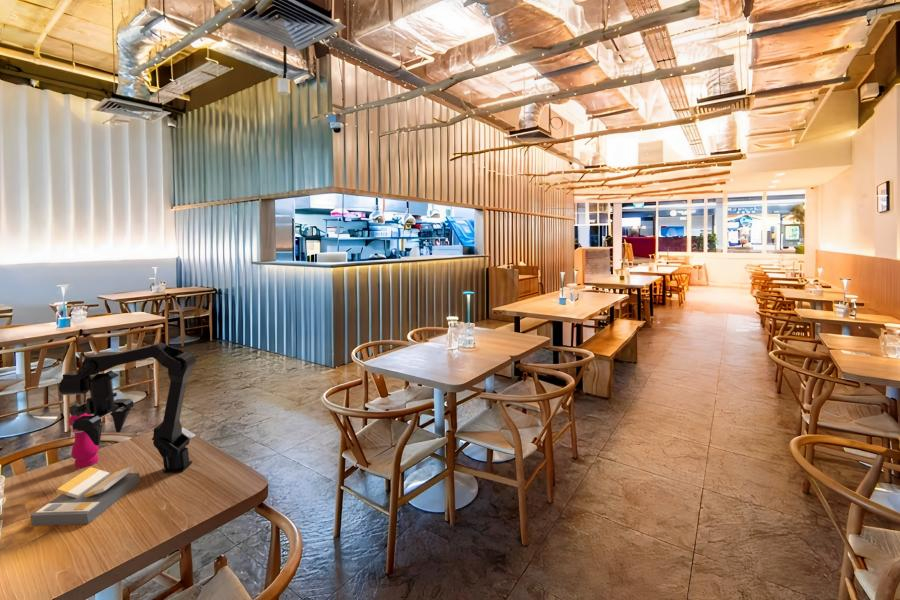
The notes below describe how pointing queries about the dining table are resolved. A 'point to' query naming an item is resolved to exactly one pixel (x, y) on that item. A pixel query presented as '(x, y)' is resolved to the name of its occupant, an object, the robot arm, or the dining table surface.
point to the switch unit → (83, 504)
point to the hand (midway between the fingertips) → (108, 438)
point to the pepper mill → (83, 447)
